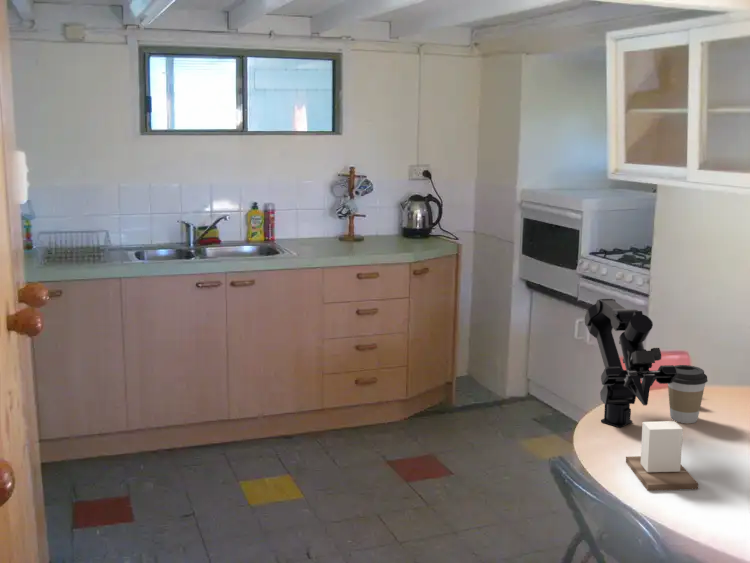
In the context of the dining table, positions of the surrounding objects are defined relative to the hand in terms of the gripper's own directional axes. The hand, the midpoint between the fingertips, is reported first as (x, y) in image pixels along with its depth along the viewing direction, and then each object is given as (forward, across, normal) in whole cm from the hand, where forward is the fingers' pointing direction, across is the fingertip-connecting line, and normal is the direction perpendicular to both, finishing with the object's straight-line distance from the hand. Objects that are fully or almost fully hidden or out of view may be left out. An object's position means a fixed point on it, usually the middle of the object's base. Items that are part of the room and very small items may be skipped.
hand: (645, 404), depth 209 cm
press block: (+17, 0, 0) cm, 17 cm away
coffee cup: (-7, +20, +26) cm, 34 cm away
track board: (+18, 0, +1) cm, 19 cm away
